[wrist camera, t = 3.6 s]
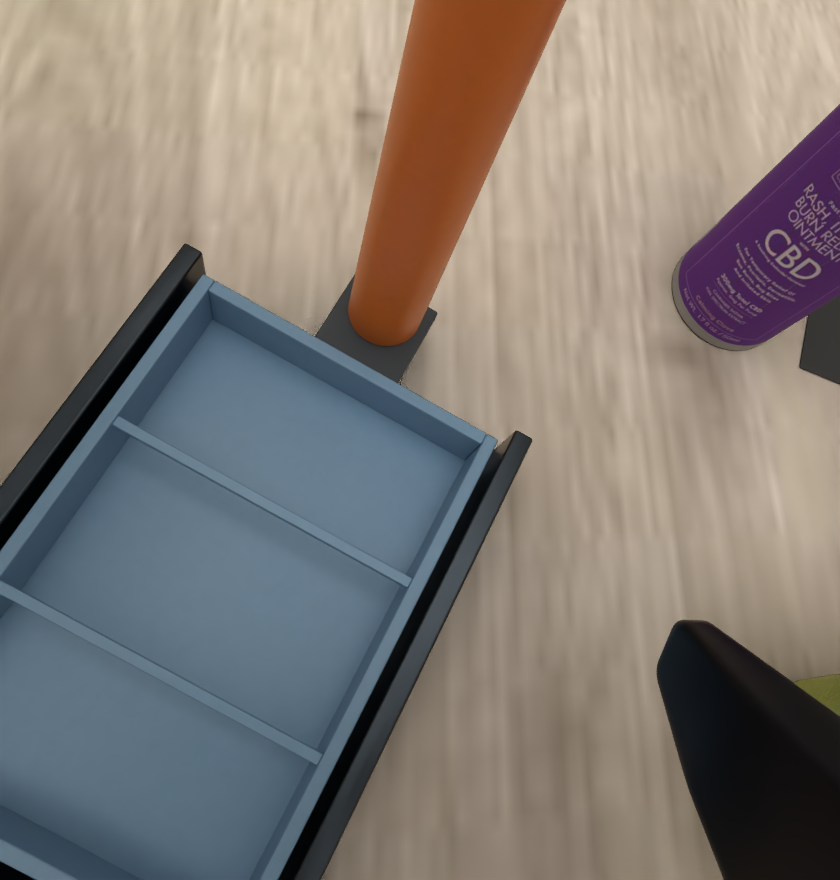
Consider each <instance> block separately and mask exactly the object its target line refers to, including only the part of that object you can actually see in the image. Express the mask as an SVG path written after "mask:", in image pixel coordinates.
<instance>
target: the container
mask: <svg viewBox="0 0 840 880" xmlns="http://www.w3.org/2000/svg"><path fill="white" fill-rule="evenodd" d="M672 291H673V297H674V301H675V304H676V307H677V309H678V311H679V313H680V315H681V317H682V318H683V320H684V321H685V322H686V324H687V325H688V326H689V327H690V328H691V330H692V331H693V332H695V333H696V334H697V335H698V336H699V337H701V338H702V339H704V340H705V341H707V342H708V343H710V344H712V345H715V346H717V347H720V348H723V349H728V350H747V349H751V348H754V347H756V346H758V345H760V344H762V343H763V342H765V341H767V340H769V339H770V338H772V337H773V336H775V335H777V334H778V333H780V332H781V331H783V330H785V329H786V328H788V327H789V326H791V325H793V324H794V323H796V322H797V321H799V320H800V319H802V318H804V317H805V316H807V315H808V314H810V313H812V312H813V311H815V310H816V309H818V308H820V307H821V306H823V305H824V304H826V303H828V302H829V301H831V300H832V299H834V298H836V297H837V296H839V295H840V104H839V105H838V106H837V107H836V108H835V109H834V110H833V111H832V112H831V113H830V114H829V115H828V116H827V117H826V118H825V119H824V120H823V121H822V122H821V123H820V124H819V125H818V126H817V127H816V128H815V129H814V130H813V131H812V132H810V133H809V134H808V135H807V136H806V137H805V138H804V139H803V140H802V141H801V142H800V143H799V144H798V145H797V146H796V147H795V148H794V149H793V150H792V151H791V152H790V153H789V154H788V155H787V156H786V157H785V158H784V159H783V160H782V161H781V162H780V163H778V164H777V165H776V166H775V167H774V168H773V169H772V170H771V171H770V172H769V173H768V174H767V175H766V176H765V177H764V178H763V179H762V180H761V181H760V182H759V183H758V184H757V185H756V186H755V187H754V188H753V189H752V190H751V191H750V192H749V193H748V194H746V195H745V196H744V197H743V198H742V199H741V200H740V201H739V202H738V203H737V204H736V205H735V206H734V207H733V208H732V209H731V210H730V211H729V212H728V213H727V214H726V215H725V216H724V217H723V218H722V219H721V220H720V221H719V222H718V223H717V224H716V225H714V226H713V227H712V228H711V229H710V230H709V231H708V232H707V233H706V234H705V235H704V236H703V237H702V238H701V239H700V240H699V241H698V242H697V243H696V244H695V245H694V246H693V247H692V248H691V249H690V250H689V251H688V252H687V253H686V254H685V255H684V256H683V257H682V258H681V259H680V261H679V262H678V264H677V266H676V268H675V271H674V274H673V279H672Z"/></svg>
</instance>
